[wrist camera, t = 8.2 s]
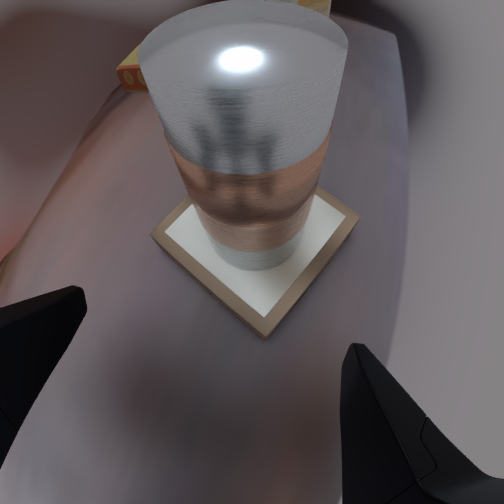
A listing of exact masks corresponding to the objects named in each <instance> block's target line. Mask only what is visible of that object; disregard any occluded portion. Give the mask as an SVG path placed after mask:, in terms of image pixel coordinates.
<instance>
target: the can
mask: <svg viewBox="0 0 504 504" xmlns="http://www.w3.org/2000/svg"><path fill="white" fill-rule="evenodd" d="M347 50H348V40H347V37H346V35H345V33H344V31H343V30H342V29H341V28H340V27H339V26H338V25H337V24H336V23H335V22H334V21H332V20H331V19H329V18H328V17H326V16H324V15H322V14H320V13H319V12H316V11H314V10H311V9H309V8H306V7H303V6H300V5H296V4H292V3H287V2H282V1H274V0H230V1H223V2H217V3H212V4H208V5H204V6H200V7H197V8H194V9H191V10H188V11H186V12H183V13H181V14H178V15H176V16H174V17H172V18H170V19H168V20H167V21H166V22H164V23H162V24H161V25H159V26H158V27H156V28H155V29H154V30H153V31H152V32H151V33H150V34H149V35H148V36H147V37H146V38H145V39H144V40H143V42H142V43H141V45H140V47H139V50H138V57H137V59H138V62H139V65H140V68H141V71H142V74H143V76H144V79H145V82H146V85H147V87H148V90H149V93H150V95H151V98H152V101H153V103H154V106H155V108H156V111H157V114H158V116H159V119H160V121H161V124H162V127H163V129H164V135H165V138H166V141H167V143H168V146H169V148H170V151H171V153H172V156H173V158H174V160H175V163H176V165H177V168H178V170H179V173H180V175H181V177H182V180H183V182H184V185H185V187H186V189H187V192H188V194H189V196H190V199H191V201H192V203H193V206H194V208H195V210H196V213H197V215H198V217H199V220H200V222H201V224H202V226H203V227H204V229H205V231H206V234H207V236H208V238H209V241H210V243H211V245H212V247H213V249H214V251H215V252H216V253H217V254H218V256H219V257H220V258H221V259H222V260H224V261H225V262H226V263H228V264H230V265H232V266H233V267H236V268H239V269H242V270H247V271H262V270H267V269H271V268H274V267H276V266H278V265H280V264H282V263H283V262H285V261H286V260H287V259H289V258H290V257H291V256H292V255H293V253H294V252H295V251H296V249H297V247H298V246H299V243H300V241H301V238H302V234H303V231H304V227H305V224H306V221H307V219H308V216H309V213H310V209H311V206H312V202H313V199H314V195H315V191H316V188H317V184H318V180H319V176H320V173H321V169H322V165H323V161H324V157H325V153H326V150H327V146H328V142H329V138H330V134H331V130H332V124H333V115H334V110H335V106H336V102H337V97H338V93H339V88H340V84H341V79H342V75H343V70H344V65H345V60H346V55H347Z"/></svg>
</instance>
